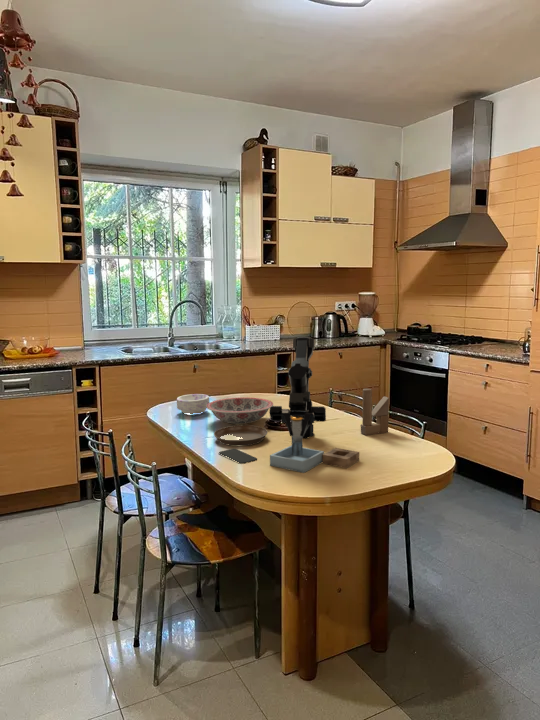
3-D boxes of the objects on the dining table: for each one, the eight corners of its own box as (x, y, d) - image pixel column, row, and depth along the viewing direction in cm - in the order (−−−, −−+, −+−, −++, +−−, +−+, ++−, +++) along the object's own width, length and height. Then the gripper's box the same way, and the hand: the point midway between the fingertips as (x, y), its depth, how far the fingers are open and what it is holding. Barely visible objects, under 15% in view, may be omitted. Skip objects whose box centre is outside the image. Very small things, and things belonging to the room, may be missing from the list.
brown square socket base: (322, 463, 176) (322, 454, 176) (335, 456, 183) (335, 447, 183) (346, 468, 171) (346, 459, 170) (359, 460, 178) (359, 451, 178)
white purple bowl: (170, 415, 246) (170, 399, 245) (188, 408, 260) (187, 392, 258) (199, 418, 240) (198, 401, 239) (215, 411, 254) (215, 394, 253)
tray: (270, 465, 175) (269, 455, 174) (291, 455, 185) (291, 445, 185) (303, 472, 167) (303, 462, 167) (324, 461, 178) (324, 451, 177)
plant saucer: (250, 451, 192) (249, 442, 191) (203, 443, 202) (203, 435, 201) (277, 436, 209) (277, 428, 209) (233, 430, 219) (232, 422, 219)
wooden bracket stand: (388, 432, 211) (389, 388, 209) (365, 435, 207) (365, 390, 205) (383, 430, 215) (384, 386, 212) (360, 433, 211) (360, 388, 208)
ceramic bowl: (194, 427, 224) (193, 409, 223) (225, 412, 251) (225, 395, 250) (257, 433, 213) (257, 414, 212) (283, 416, 240) (283, 399, 239)
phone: (240, 463, 177) (217, 452, 189) (240, 465, 177) (217, 454, 189) (258, 458, 181) (234, 448, 193) (258, 461, 181) (234, 450, 193)
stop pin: (288, 453, 177) (288, 416, 175) (299, 451, 179) (298, 415, 177) (295, 456, 173) (294, 419, 172) (305, 454, 175) (305, 417, 173)
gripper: (269, 382, 178) (265, 423, 169) (325, 382, 175) (324, 424, 166) (272, 400, 187) (269, 439, 177) (326, 400, 184) (325, 440, 175)
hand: (296, 435), depth 174 cm, fingers closed on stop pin, 4 cm apart
